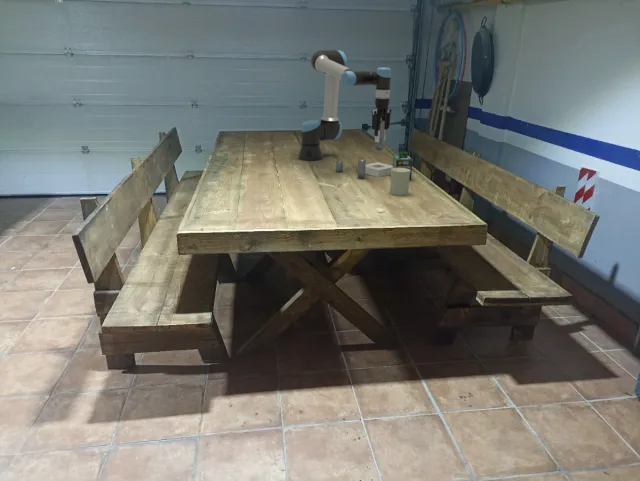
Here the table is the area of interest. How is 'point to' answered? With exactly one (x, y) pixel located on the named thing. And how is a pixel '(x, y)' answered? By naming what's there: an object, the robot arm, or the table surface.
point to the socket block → (378, 169)
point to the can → (399, 181)
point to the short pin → (339, 166)
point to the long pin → (381, 136)
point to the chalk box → (403, 162)
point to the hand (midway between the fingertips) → (379, 141)
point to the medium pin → (361, 168)
